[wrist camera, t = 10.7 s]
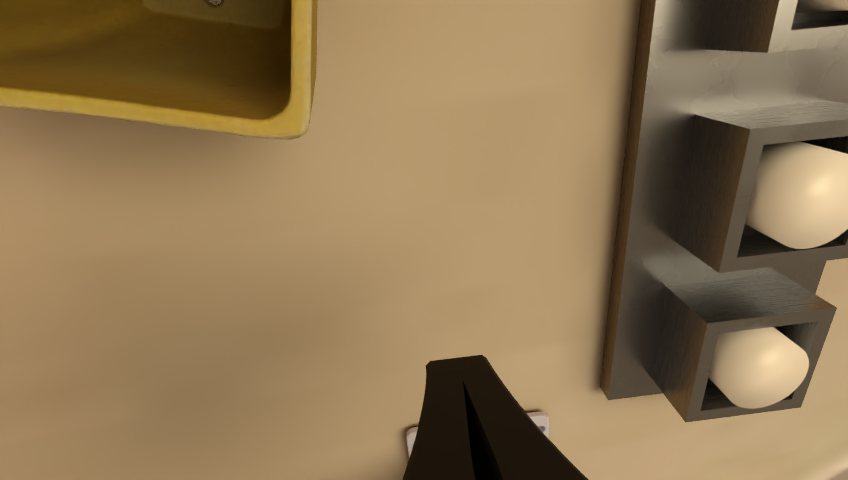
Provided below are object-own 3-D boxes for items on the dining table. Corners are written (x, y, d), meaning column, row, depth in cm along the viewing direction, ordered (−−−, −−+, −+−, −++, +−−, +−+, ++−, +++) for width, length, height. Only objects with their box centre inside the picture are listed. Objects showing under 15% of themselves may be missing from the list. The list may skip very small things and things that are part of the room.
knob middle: (778, 210, 20) (852, 243, 17) (700, 218, 20) (760, 253, 17) (800, 128, 19) (886, 148, 15) (715, 137, 18) (785, 159, 15)
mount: (773, 364, 26) (837, 420, 22) (600, 386, 25) (636, 446, 21) (944, -189, 15) (1119, -258, 12) (659, -167, 15) (747, -231, 11)
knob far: (740, 353, 23) (796, 403, 20) (673, 361, 23) (718, 413, 20) (756, 294, 22) (819, 338, 19) (684, 302, 22) (735, 348, 19)
